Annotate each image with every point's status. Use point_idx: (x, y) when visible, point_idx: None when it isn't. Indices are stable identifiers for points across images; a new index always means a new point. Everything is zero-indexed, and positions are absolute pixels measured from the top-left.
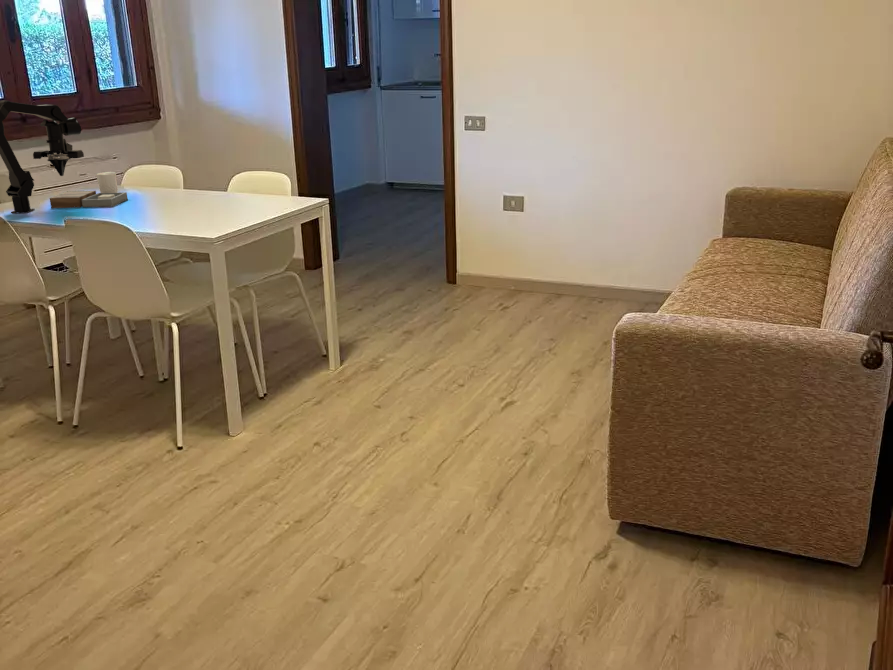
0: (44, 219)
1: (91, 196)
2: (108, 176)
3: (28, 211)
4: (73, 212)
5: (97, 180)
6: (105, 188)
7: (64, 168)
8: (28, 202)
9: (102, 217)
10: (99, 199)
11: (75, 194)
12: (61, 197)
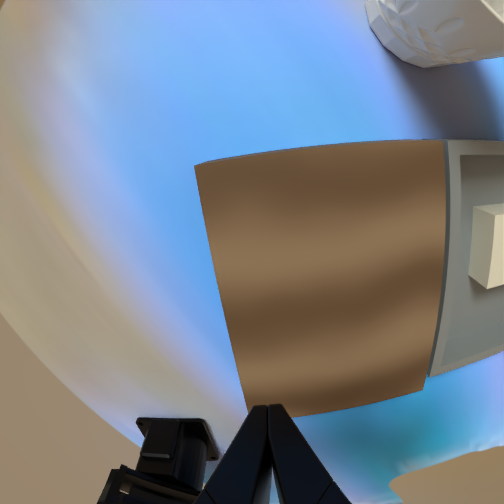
0: (348, 492)
1: (454, 282)
2: None
3: (216, 452)
4: (406, 429)
5: (432, 2)
6: (464, 60)
7: (326, 477)
8: (202, 467)
9: (490, 439)
10: (500, 351)
11: (365, 314)
12: (319, 406)
